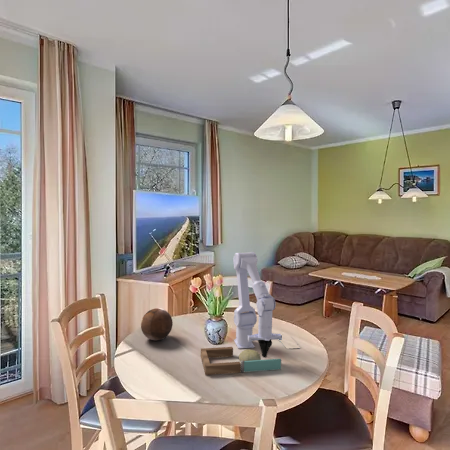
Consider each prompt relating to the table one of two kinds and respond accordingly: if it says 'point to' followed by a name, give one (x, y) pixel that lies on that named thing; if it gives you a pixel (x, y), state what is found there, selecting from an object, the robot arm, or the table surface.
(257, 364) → the teal plank
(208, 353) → the bay
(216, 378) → the table surface
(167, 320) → the wooden sphere
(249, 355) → the sea urchin shell
